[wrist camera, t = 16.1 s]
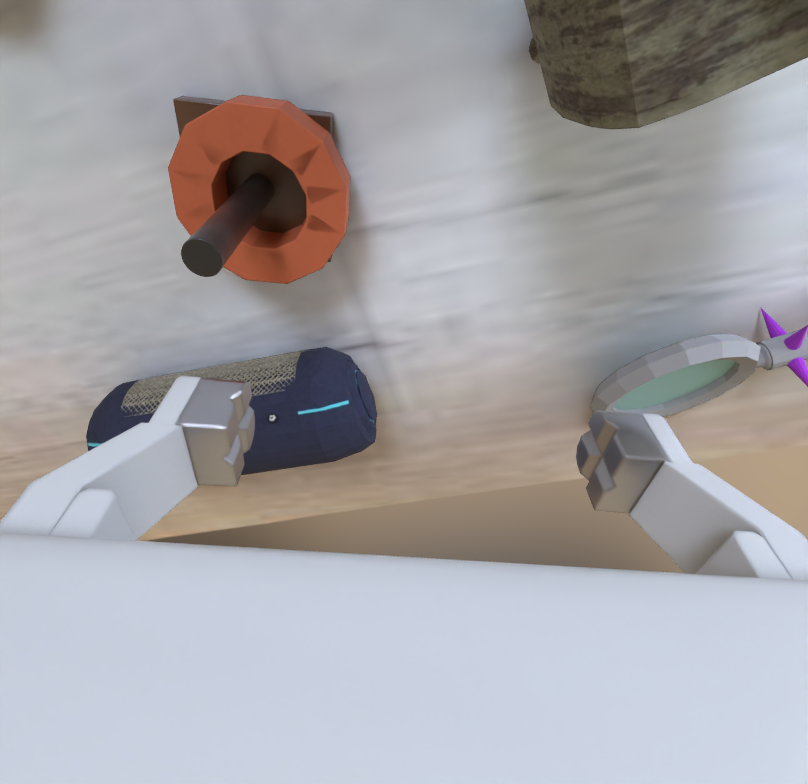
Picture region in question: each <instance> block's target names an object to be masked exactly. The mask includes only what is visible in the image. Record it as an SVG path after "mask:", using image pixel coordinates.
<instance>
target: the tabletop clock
mask: <svg viewBox="0 0 808 784" xmlns="http://www.w3.org/2000/svg"><path fill="white" fill-rule="evenodd" d="M524 1H525V5H526V9H527V13H528V17H529V21H530V25H531V29H532V33H533V37H534V38H533V39H532V40H531V44H530V48H529V52H530V55H531V58H532V60H534V61H535V62H537V63H540V65H541V69H542V73H543V77H544V81H545V85H546V89H547V93H548V97H549V101H550V104H551V106H552V107H553V108H554V109H555V110H556V111H557V112H558V113H559V114H560V115H561V116H562V117H563V118H566V119H569V120H572V121H575V122H578V123H581V124H584V125H587V126H591V127H597V128H605V129H624V128H640V127H643V126H646V125H648V124H651V123H654V122H657V121H660V120H663V119H665V118H668V117H671V116H674V115H677V114H680V113H682V112H685V111H687V110H690V109H692V108H695V107H697V106H700V105H702V104H705V103H707V102H709V101H712V100H714V99H716V98H718V97H721V96H723V95H725V94H728V93H730V92H732V91H734V90H737V89H739V88H741V87H743V86H745V85H748V84H750V83H752V82H754V81H756V80H759V79H761V78H763V77H765V76H767V75H770V74H772V73H774V72H776V71H778V70H781V69H783V68H785V67H787V66H789V65H792V64H794V63H796V62H798V61H800V60H803V59H805V58H807V57H808V0H524Z"/></svg>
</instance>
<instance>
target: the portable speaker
mask: <svg viewBox="0 0 808 784" xmlns="http://www.w3.org/2000/svg"><path fill="white" fill-rule="evenodd" d="M280 362H281V363H280ZM278 363H279V364H278ZM260 365H261V366H260ZM240 370H241V371H240ZM208 374H209V375H208ZM213 375H214V376H213ZM180 376H191V377H201V378H214V379H224V380H234V381H243V382H248V383H249V384H250V387H251V393H252V397H251V400H250V403H249V406H250V407H251V408H252V409H253V410H254V415H255V430H254V437H253V441H252V444H251V447H250V450H248V451H247V452H246V453H244V454H243V456H244V463H245V464H244V467H243V470H242V473H241V475H245V474H252V473H259V472H265V471H272V470H279V469H286V468H292V467H299V466H306V465H313V464H319V463H326V462H333V461H336V460H339V459H342V458H344V457H347V456H350V455H353V454H355V453H358V452H361V451H363V450H364V449H366V448H367V447H368V446H370V445H371V444H373V443H374V442H375V439H376V417H377V412H376V406H375V401H374V396H373V394H372V391H371V389H370V386H369V384H368V381H367V379H366V377H365V375H364V374H363V373H362V372H361V371H360V370H359V368H358V367H357V365H356V364H355V363H354V362H353V360H352V359H351V357H350V356H349V355H347V354H344V353H342V352H339V351H336V350H333V349H330V348H327V347H323V348H317V349H310V350H303V351H298V352H292V353H287V354H281V355H275V356H269V357H264V358H258V359H252V360H247V361H241V362H235V363H230V364H224V365H218V366H213V367H207V368H202V369H196V370H190V371H184V372H179V373H173V374H168V375H162V376H156V377H151V378H146V379H141V380H136V381H131V382H127V383H123V384H121V385H119V386H117V387H116V388H115V389H114V390H113V391H112V392H110V393H109V394H108V395H107V396H106V397H105V398H104V399H103V400H102V402H101V403H100V404H99V405H98V407H97V408H96V409H95V410H94V412H93V415H92V417H91V419H90V422H89V426H88V430H87V435H86V438H87V445H88V451H90V450H92V449H94V448H96V447H97V446H99V445H101V444H103V443H105V442H107V441H108V440H110V439H112V438H114V437H116V436H118V435H120V434H121V433H123V432H125V431H127V430H129V429H131V428H132V427H134V426H136V425H138V424H140V423H149V421H150V420H151V418H152V416H153V415H154V413H155V412H156V410H157V408H158V407H159V405H160V404H161V402H162V400H163V399H164V397H165V396H166V394H167V393H168V391H169V389H170V388H171V386H172V385H173V383H174V381H175V380H176V379H177V378H178V377H180ZM172 382H173V383H172ZM167 383H168V384H167Z"/></svg>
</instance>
